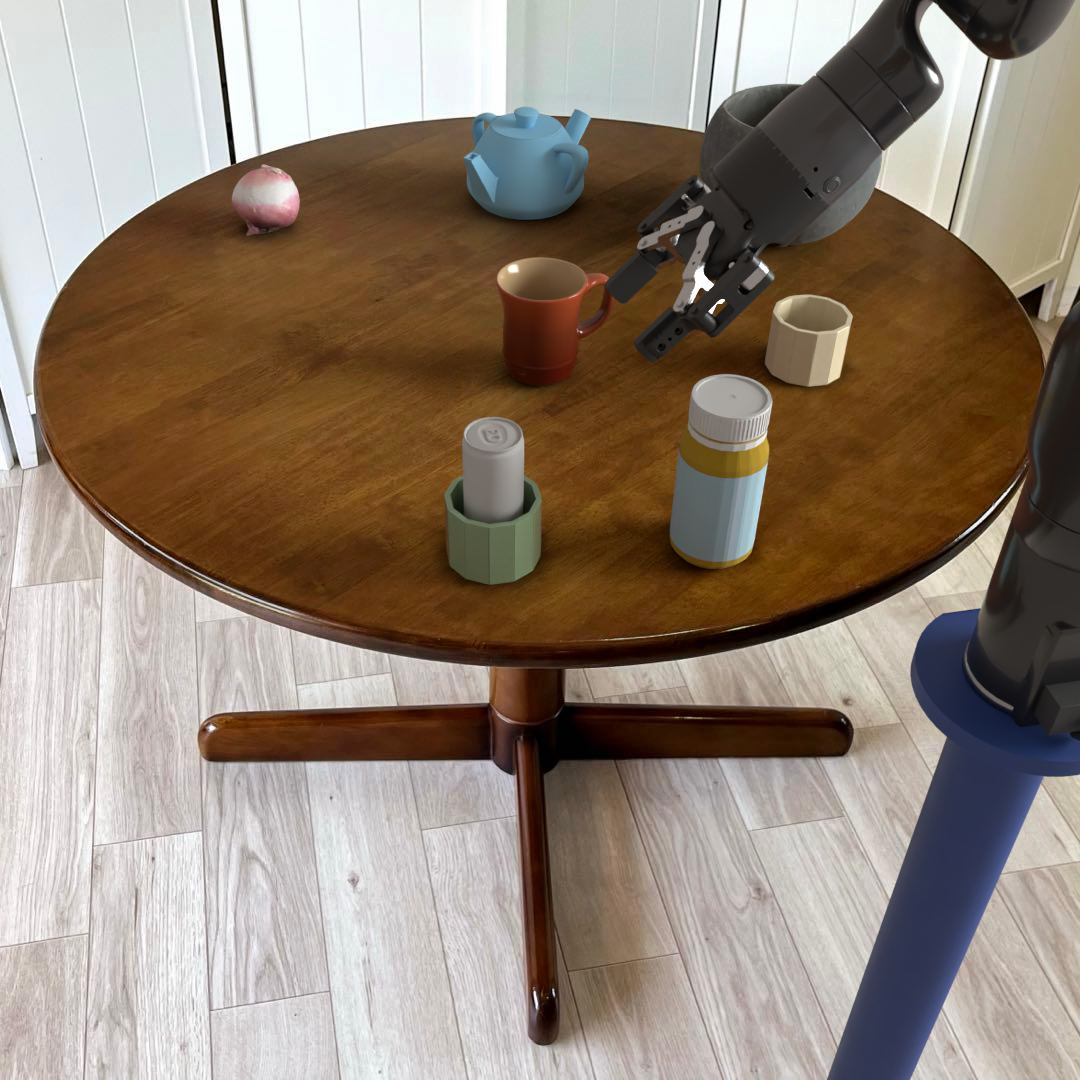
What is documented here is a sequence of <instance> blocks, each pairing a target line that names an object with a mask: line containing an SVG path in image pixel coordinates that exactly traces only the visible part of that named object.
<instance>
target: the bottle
mask: <svg viewBox="0 0 1080 1080" xmlns="http://www.w3.org/2000/svg"><path fill="white" fill-rule="evenodd" d="M772 406H773V397H772V394H771V392H770V390H768V388H767V387H766V386H765V385H764V384H762V383H760V382H759V381H757V380H755V379H753V378H751V377H747V376H744V375H739V374H731V373H730V374H729V373H721V374H714V375H710V376H709V375H708V376H706V377H704V378H702V379H700V380H699V381H697V382H696V383H695V384H694V386H693V387H692V390H691V392H690V400H689V406H688V418H687V419H688V421H687V426H686V428H685V429H684V431H683V433H682V435H681V437H680V441H679V446H678V453H677V462H676V463H677V464H676V471H675V472H676V473H675V481H674V490H673V498H672V506H671V507H672V508H671V515H670V525H669V541H670V545H671V547H672V548H673V551H674V552H675V553H676V554H677V555H678V556H679V557H681V558H682V559H683V560H685V562H687V563H689V564H690V565H693V566H695V567H697V568H702V569H705V570H724V569H728V568H731V567H733V566H736V565H738V564H740V563H741V562H743V561H745V560H746V559H748V557H749V556H750V555H751V553H752V551H753V547H754V544H755V539H756V533H757V529H758V522H759V516H760V510H761V505H762V499H763V492H764V488H765V481H766V476H767V469H768V464H769V458H770V444H769V440H768V437H767V435H768V430H769V429H768V426H769V424H770V419H771V413H772Z"/></svg>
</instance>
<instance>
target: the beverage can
mask: <svg viewBox="0 0 1080 1080" xmlns="http://www.w3.org/2000/svg"><path fill="white" fill-rule="evenodd" d="M461 439H462V440H461V447H462V448H461V449H462V451H461V455H462V456H461V457H462V475H463V493H464V516H465V517H466V518H467V519H470V520H474V521H479V522H483V523H488V524H492V523H501V522H509V521H513V520H515V519H517V518H519V517H521V516H522V515H523V499H524V475H525V438H524V434H523V430H522V428H521V426H520V425H519V424H518V423H516V422H515V421H513V420H511V419H509V418H505V417H499V416H487V417H486V416H485V417H481V418H477V419H475V420H473V421H472V422H470V423H469V424H468V425H466V426H465V428H464V430H463V437H462V438H461Z"/></svg>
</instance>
